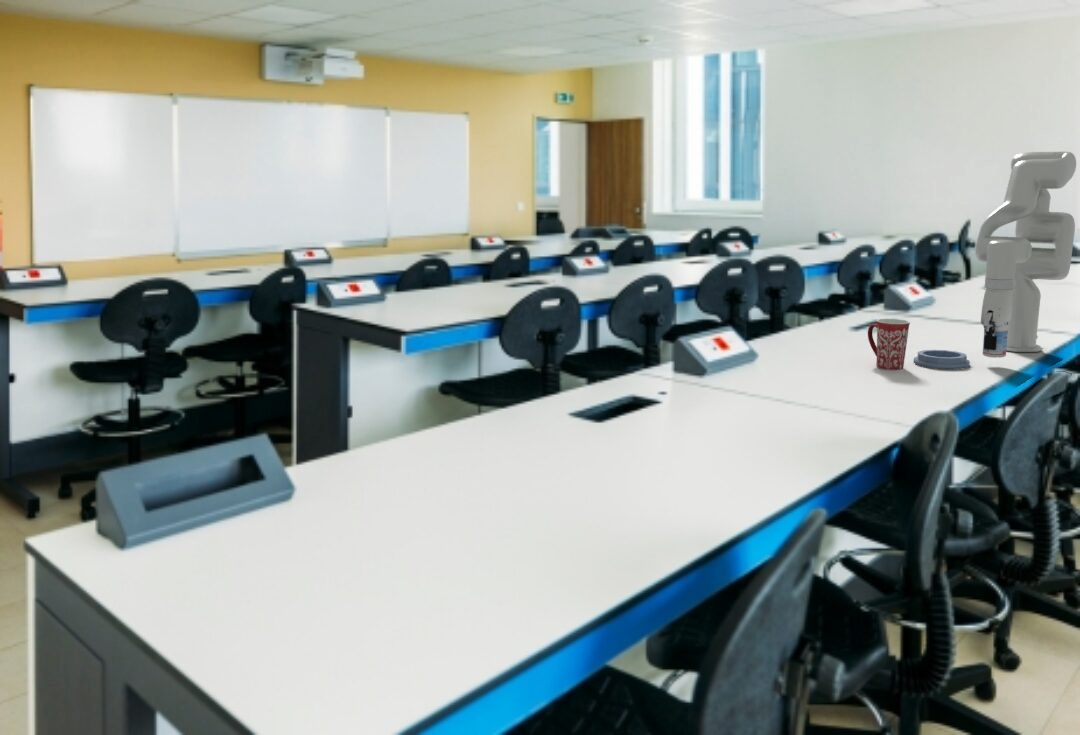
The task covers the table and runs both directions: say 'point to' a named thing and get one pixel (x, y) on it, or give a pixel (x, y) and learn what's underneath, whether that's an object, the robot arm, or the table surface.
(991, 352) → the pill bottle
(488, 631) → the table surface
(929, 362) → the round tray
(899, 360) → the mug
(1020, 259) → the robot arm
